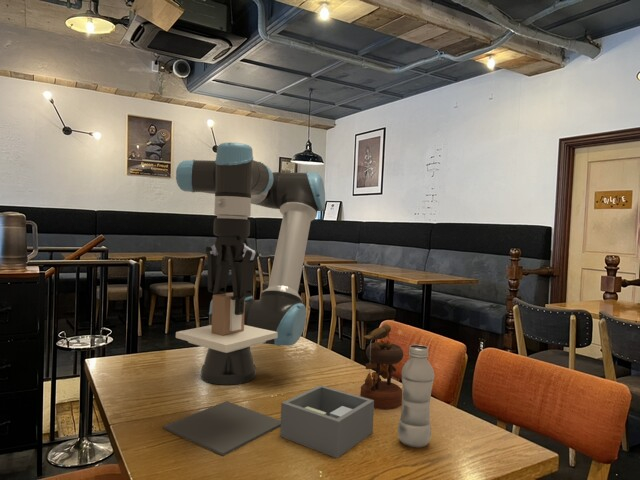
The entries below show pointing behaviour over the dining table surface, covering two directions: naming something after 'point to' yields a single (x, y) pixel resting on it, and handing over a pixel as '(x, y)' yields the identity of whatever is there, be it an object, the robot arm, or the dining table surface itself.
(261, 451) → the dining table surface
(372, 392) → the music box
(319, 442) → the box
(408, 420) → the plastic bottle
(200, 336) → the lid
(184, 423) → the mat
